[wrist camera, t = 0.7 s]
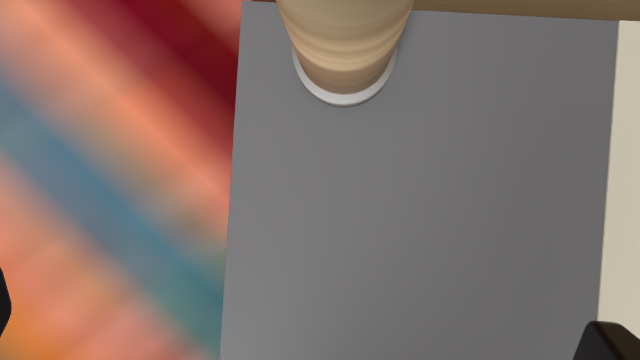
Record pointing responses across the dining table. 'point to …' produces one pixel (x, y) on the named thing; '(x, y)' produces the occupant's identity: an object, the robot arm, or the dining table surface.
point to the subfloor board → (437, 195)
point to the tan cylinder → (344, 45)
